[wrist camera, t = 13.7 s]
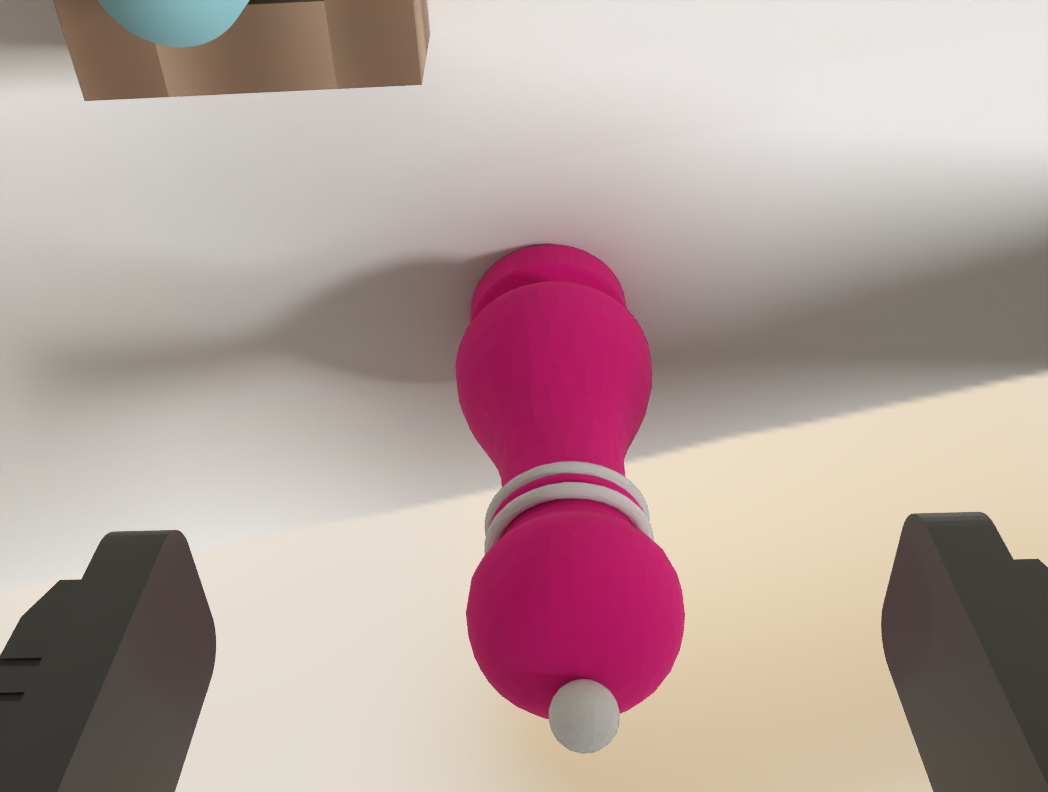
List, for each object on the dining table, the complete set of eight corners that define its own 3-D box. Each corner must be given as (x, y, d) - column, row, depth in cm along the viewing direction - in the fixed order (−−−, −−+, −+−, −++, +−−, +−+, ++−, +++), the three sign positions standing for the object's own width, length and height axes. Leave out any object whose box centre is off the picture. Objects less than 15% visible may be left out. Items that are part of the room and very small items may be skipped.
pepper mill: (628, 384, 42) (712, 826, 26) (459, 382, 42) (439, 828, 26) (646, 232, 38) (760, 649, 22) (458, 228, 38) (434, 650, 22)
